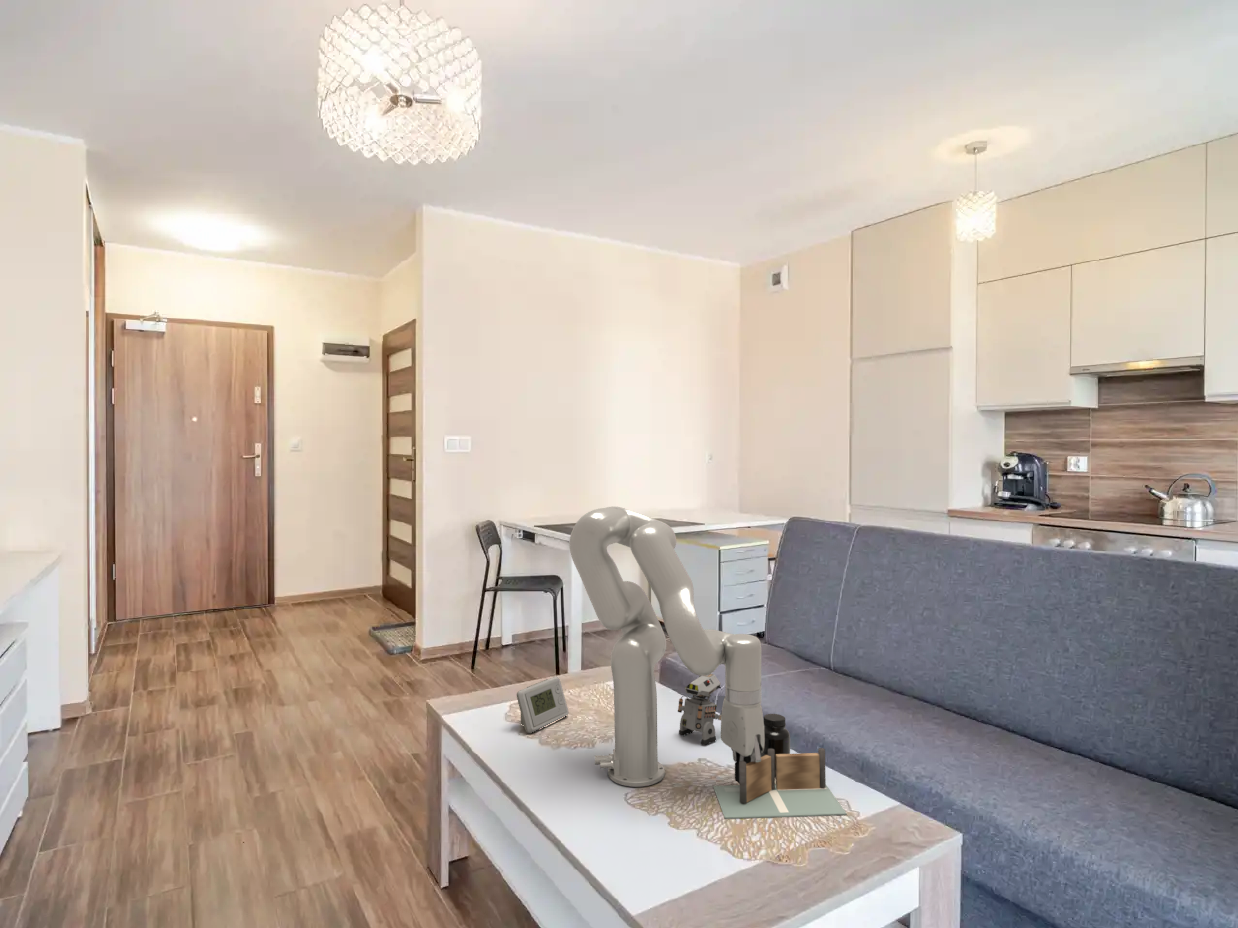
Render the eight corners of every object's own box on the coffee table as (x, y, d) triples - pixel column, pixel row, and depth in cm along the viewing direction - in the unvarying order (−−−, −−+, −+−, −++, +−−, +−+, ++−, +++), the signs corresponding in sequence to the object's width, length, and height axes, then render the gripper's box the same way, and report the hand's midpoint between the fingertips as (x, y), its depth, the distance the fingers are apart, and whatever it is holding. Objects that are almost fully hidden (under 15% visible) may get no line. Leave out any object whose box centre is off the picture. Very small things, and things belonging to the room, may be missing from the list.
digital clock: (527, 736, 176) (526, 694, 176) (507, 726, 182) (507, 686, 182) (576, 719, 186) (576, 680, 186) (556, 711, 193) (556, 673, 193)
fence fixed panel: (777, 789, 145) (777, 751, 145) (775, 786, 146) (775, 749, 146) (826, 788, 145) (826, 750, 145) (824, 785, 147) (823, 747, 147)
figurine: (731, 735, 174) (731, 676, 174) (700, 748, 167) (699, 686, 167) (705, 725, 181) (704, 668, 181) (673, 737, 174) (673, 677, 174)
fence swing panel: (743, 804, 139) (743, 764, 139) (738, 801, 140) (737, 762, 140) (776, 787, 145) (775, 749, 145) (770, 785, 146) (770, 747, 146)
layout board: (724, 818, 134) (724, 817, 134) (713, 787, 147) (713, 785, 147) (846, 814, 135) (846, 813, 135) (824, 783, 148) (824, 782, 148)
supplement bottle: (791, 778, 151) (790, 723, 150) (759, 776, 152) (758, 721, 152) (789, 765, 157) (789, 712, 157) (759, 762, 159) (758, 710, 159)
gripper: (708, 686, 151) (709, 770, 151) (749, 709, 137) (749, 801, 137) (737, 681, 154) (737, 763, 154) (780, 703, 140) (780, 793, 140)
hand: (743, 781), depth 146 cm, fingers closed
